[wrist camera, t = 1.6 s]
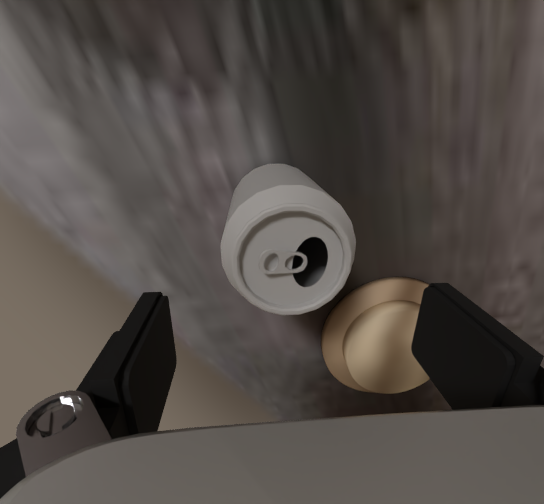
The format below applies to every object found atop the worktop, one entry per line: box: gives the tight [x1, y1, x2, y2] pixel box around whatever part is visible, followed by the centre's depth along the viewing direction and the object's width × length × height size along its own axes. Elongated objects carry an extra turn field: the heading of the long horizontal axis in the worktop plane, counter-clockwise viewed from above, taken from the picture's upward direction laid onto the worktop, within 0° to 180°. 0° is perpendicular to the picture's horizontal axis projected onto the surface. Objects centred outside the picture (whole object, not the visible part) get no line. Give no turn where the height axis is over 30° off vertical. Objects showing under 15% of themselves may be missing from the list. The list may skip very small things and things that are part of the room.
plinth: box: [321, 277, 430, 394], centre depth 31 cm, size 14×14×3 cm
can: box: [221, 164, 356, 315], centre depth 21 cm, size 8×8×12 cm
